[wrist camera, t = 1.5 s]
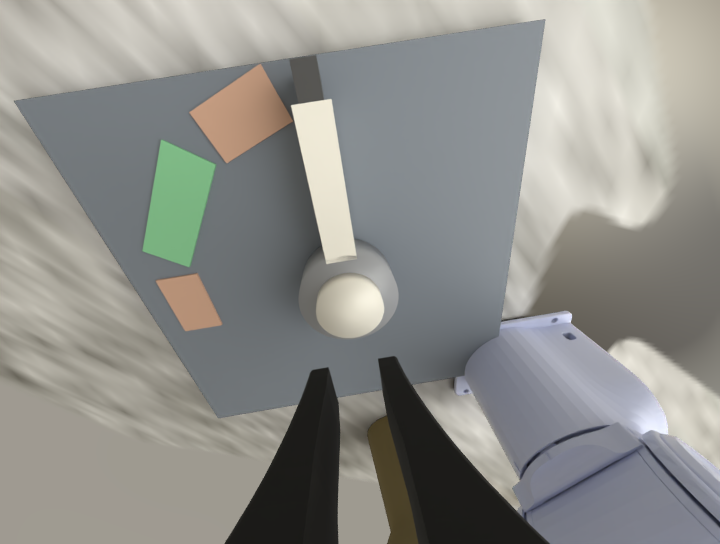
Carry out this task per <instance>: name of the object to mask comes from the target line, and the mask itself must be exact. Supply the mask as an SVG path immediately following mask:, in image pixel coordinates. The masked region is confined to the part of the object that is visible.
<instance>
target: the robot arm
mask: <svg viewBox="0 0 720 544" xmlns="http://www.w3.org/2000/svg"><path fill="white" fill-rule="evenodd" d="M571 319H572V314H571V313H570V312H568V311H562V312H556V313H550V314H544V315H538V316H532V317H526V318H520V319H515V320H509V321H503V322H501V325H500V331H499V336H498V337H496V338H493V339H491V340H490V341H488V342H486V343H485V344H483V345H482V346H481V347H479V348H478V349H477V350H476V351H475V352H474V353H473V354H472V356H471V357H470V358H469V360H468V362H467V364H466V367H465V376H460V377H455V384H454V391H455V393H456V394H457V395H465V394H471V393H473V394H474V396H475V398H476V400H477V402H478V404H479V405H480V407H481V409H482V411H483V413H484V415H485V417H486V418H487V420H488V422H489V424H490V426H491V428H492V430H493V432H494V433H495V435H496V437H497V439H498V441H499V443H500V445H501V446H502V448H503V450H504V452H505V454H506V456H507V458H508V459H509V461H510V463H511V465H512V467H513V469H514V471H515V472H516V474H517V476H518V478H519V480H520V481H519V482H518V483H517V484H516V485H515V486H513V488H512V489H513V491H514V493H515V495H516V497H517V499H518V501H519V503H520V505H521V506H520V507H519V508H518V510H517V511H516V510H515V509H514V508H513V507H512V506H511V505H510V504H509V503H508V502H507V501H506V500H505V499H504V498H503V497H502V496H501V495H500V494H499V492H498V491H497V490H496V489H495V488H494V487H493V486H492V485H491V484H490V483H489V482H488V481H487V480H486V479H485V478H484V477H483V476H482V474H481V473H480V472H479V471H478V470H477V469H476V468H475V467H474V466H473V465H472V463H471V462H470V461H469V460H468V459H467V458H466V456H465V455H464V454H463V453H462V452H461V451H460V450H459V448H458V447H457V446H456V445H455V444H454V442H453V441H452V440H451V439H450V437H449V436H448V435H447V434H446V432H445V431H444V430H443V428H442V427H441V426H440V425H439V423H438V422H437V421H436V419H435V418H434V417H433V415H432V414H431V413H430V411H429V410H428V408H427V407H426V406H425V404H424V403H423V401H422V400H421V398H420V397H419V395H418V394H417V392H416V391H415V389H414V388H413V386H412V385H411V383H410V381H409V380H408V378H407V376H406V375H405V373H404V371H403V369H402V367H401V365H400V363H399V361H398V359H397V357H395V356H391V357H385V358H379V359H378V363H379V370H380V376H381V383H382V390H383V396H384V402H385V407H386V413H387V418H388V423H389V427H390V431H391V434H392V438H393V442H394V445H395V449H396V453H397V456H398V460H399V463H400V467H401V471H402V474H403V478H404V482H405V485H406V489H407V493H408V497H409V501H410V505H411V509H412V514H413V519H414V524H415V529H416V534H417V539H418V544H720V470H719V469H718V468H717V467H716V466H714V465H713V464H712V463H711V462H709V461H708V460H707V459H706V458H704V457H703V456H702V455H701V454H699V453H698V452H697V451H696V450H694V449H693V448H692V447H690V446H689V445H688V444H686V443H685V442H683V441H682V440H680V439H679V438H677V437H675V436H671V435H668V424H667V419H666V416H665V414H664V411H663V409H662V407H661V406H660V404H659V402H658V401H657V399H656V398H655V396H654V395H653V393H652V392H651V391H650V390H649V388H648V387H647V386H646V385H645V384H644V383H643V382H642V381H641V380H640V379H639V378H638V377H637V376H636V375H635V374H633V373H632V372H631V371H630V370H628V369H627V368H626V367H625V366H623V365H622V364H621V363H620V362H618V361H617V360H616V359H615V358H614V357H612V356H611V355H610V354H609V353H607V352H606V351H605V350H603V349H602V348H601V347H600V346H599V345H597V344H596V343H595V342H593V341H592V340H591V339H590V338H589V337H587V336H586V335H585V334H584V333H582V332H581V331H580V330H578V329H577V328H576V327H575V326H574V325H572V324H571V323H570V322H571ZM339 451H340V421H339V405H338V399H337V396H336V392H335V389H334V385H333V381H332V378H331V374H330V371H329V367H326V368H321V369H315V370H312V371H311V372H310V374H309V377H308V381H307V383H306V386H305V389H304V392H303V394H302V397H301V399H300V402H299V405H298V407H297V409H296V412H295V414H294V416H293V419H292V421H291V423H290V426H289V428H288V430H287V432H286V434H285V437H284V439H283V441H282V443H281V445H280V447H279V449H278V451H277V453H276V455H275V457H274V459H273V461H272V463H271V465H270V467H269V469H268V471H267V473H266V474H265V476H264V478H263V480H262V482H261V484H260V485H259V487H258V489H257V491H256V492H255V494H254V496H253V498H252V499H251V501H250V503H249V505H248V506H247V508H246V510H245V511H244V513H243V514H242V516H241V518H240V519H239V521H238V523H237V524H236V526H235V528H234V529H233V531H232V533H231V534H230V536H229V537H228V539H227V540H226V542H225V544H338V517H337V516H338V515H337V514H338V480H339Z"/></svg>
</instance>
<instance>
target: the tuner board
mask: <svg viewBox="0 0 720 544" xmlns="http://www.w3.org/2000/svg"><path fill="white" fill-rule="evenodd" d="M544 26H545V19H543V20H537V21H530V22H524V23H517V24H511V25H504V26H498V27H491V28H485V29H478V30H472V31H465V32H459V33H452V34H446V35H439V36H433V37H426V38H420V39H413V40H407V41H400V42H394V43H387V44H380V45H374V46H367V47H361V48H354V49H348V50H341V51H335V52H328V53H322V54H315V55H316V57H317V61H318V66H319V71H320V77H321V83H322V88H323V94H324V100H327V99H332V105H333V112H334V118H335V124H336V130H337V137H338V143H339V149H340V155H341V162H342V168H343V174H344V180H345V187H346V193H347V199H348V205H349V212H350V218H351V224H352V230H353V237H354V239H358V240H362V241H365V242H367V243H370V244H371V245H373V246H374V247H376V248H377V249H378V250H379V251H380V252H381V253H382V254H383V255H384V257H385V258H386V260H387V262H388V265H389V267H390V269H391V272H392V274H393V276H394V279H395V281H396V284H397V287H398V293H399V299H398V305H397V308H396V310H395V313H394V314H393V316H392V318H391V319H390V320H389V321H388V323H387V324H386V325H384V326H383V327H382V328H381V329H379V330H378V331H376V332H375V333H373V334H370V335H368V336H365V337H362V338H357V339H346V340H344V339H336V338H331V337H328V336H325V335H323V334H321V333H319V332H317V331H316V330H315V329H313V328H312V327H311V326H310V325H309V324H308V323H307V322H306V320H305V319H304V317H303V316H302V314H301V311H300V308H299V300H298V298H299V290H300V286H301V281H302V276H303V272H304V268H305V265H306V263H307V261H308V259H309V257H310V256H311V255H312V254H313V252H314V251H316V250H317V249H318V248H319V247H321V246H322V242H321V238H320V233H319V229H318V224H317V220H316V215H315V211H314V206H313V202H312V197H311V193H310V188H309V184H308V179H307V175H306V170H305V166H304V162H303V157H302V153H301V148H300V144H299V139H298V135H297V130H296V126H295V121H294V117H293V112H292V108H291V105H295V104H298V99H297V94H296V90H295V85H294V80H293V76H292V71H291V66H290V61H289V59H293V58H289V59H283V60H276V61H270V62H263V63H257V64H250V65H244V66H237V67H231V68H224V69H218V70H211V71H205V72H198V73H192V74H185V75H179V76H172V77H166V78H159V79H153V80H146V81H140V82H133V83H127V84H120V85H114V86H107V87H101V88H94V89H88V90H81V91H75V92H68V93H62V94H55V95H49V96H42V97H35V98H29V99H22V100H16V101H14V102H15V104H16V105H17V107H18V108H19V110H20V111H21V113H22V115H23V116H24V118H25V119H26V121H27V122H28V124H29V125H30V127H31V129H32V130H33V132H34V133H35V135H36V136H37V138H38V139H39V141H40V142H41V144H42V146H43V147H44V149H45V150H46V152H47V153H48V155H49V156H50V158H51V160H52V161H53V163H54V164H55V166H56V167H57V169H58V170H59V172H60V174H61V175H62V177H63V178H64V180H65V181H66V183H67V184H68V186H69V187H70V189H71V191H72V192H73V194H74V195H75V197H76V198H77V200H78V201H79V203H80V205H81V206H82V208H83V209H84V211H85V212H86V214H87V215H88V217H89V219H90V220H91V222H92V223H93V225H94V226H95V228H96V229H97V231H98V232H99V234H100V236H101V237H102V239H103V240H104V242H105V243H106V245H107V246H108V248H109V250H110V251H111V253H112V254H113V256H114V257H115V259H116V260H117V262H118V264H119V265H120V267H121V268H122V270H123V271H124V273H125V274H126V276H127V277H128V279H129V281H130V282H131V284H132V285H133V287H134V288H135V290H136V291H137V293H138V295H139V296H140V298H141V299H142V301H143V302H144V304H145V305H146V307H147V309H148V310H149V312H150V313H151V315H152V316H153V318H154V319H155V321H156V322H157V324H158V326H159V327H160V329H161V330H162V332H163V333H164V335H165V336H166V338H167V340H168V341H169V343H170V344H171V346H172V347H173V349H174V350H175V352H176V354H177V355H178V357H179V358H180V360H181V361H182V363H183V364H184V366H185V367H186V369H187V371H188V372H189V374H190V375H191V377H192V378H193V380H194V381H195V383H196V385H197V386H198V388H199V389H200V391H201V392H202V394H203V395H204V397H205V399H206V400H207V402H208V403H209V405H210V406H211V408H212V409H213V411H214V412H215V414H216V416H217V417H218V418H223V417H229V416H234V415H240V414H246V413H252V412H257V411H263V410H269V409H275V408H281V407H286V406H292V405H298V404H299V402H300V399H301V397H302V394H303V392H304V389H305V386H306V383H307V381H308V377H309V374H310V372H311V371H312V370H315V369H321V368H326V367H329V371H330V374H331V378H332V381H333V385H334V389H335V392H336V396H337V398H338V397H344V396H350V395H356V394H361V393H367V392H373V391H379V390H382V383H381V376H380V370H379V363H378V359H379V358H385V357H391V356H395V357H397V359H398V361H399V363H400V365H401V367H402V369H403V371H404V373H405V375H406V376H407V378H408V380H409V381H410V383H411V385H413V384H419V383H425V382H431V381H436V380H442V379H448V378H454V377H460V376H465V367H466V364H467V362H468V360H469V358H470V357H471V356H472V354H473V353H474V352H475V351H476V350H477V349H478V348H479V347H481V346H482V345H483V344H485V343H486V342H488V341H490V340H491V339H493V338H496V337H498V336H499V331H500V325H501V318H502V311H503V304H504V297H505V291H506V284H507V277H508V270H509V263H510V257H511V250H512V243H513V236H514V229H515V223H516V216H517V209H518V202H519V196H520V189H521V182H522V175H523V168H524V162H525V155H526V148H527V141H528V134H529V128H530V121H531V114H532V107H533V100H534V94H535V87H536V80H537V73H538V66H539V60H540V53H541V46H542V39H543V32H544ZM309 56H312V55H309ZM302 57H306V56H302ZM296 58H299V57H296Z"/></svg>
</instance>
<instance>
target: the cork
mask: <svg viewBox="0 0 720 544" xmlns="http://www.w3.org/2000/svg"><path fill="white" fill-rule="evenodd" d="M367 437H368V441H369V445H370V449H371V453H372V457H373V461H374V465H375V469H376V473H377V477H378V481H379V485H380V489H381V494H382V498H383V501H384V506H385V510H386V514H387V518H388V522H389V526H390V530H391V533H390V536H389V539H388V543H387V544H418V539H417V534H416V529H415V524H414V519H413V514H412V509H411V505H410V501H409V497H408V493H407V489H406V485H405V482H404V478H403V474H402V471H401V467H400V463H399V460H398V456H397V453H396V449H395V445H394V442H393V438H392V434H391V431H390V427H389V423H388V418H387V416H385V417H383V418H381V419H379V420H377V421H376V422H375V423H373V424H372V425H371V427H370V428H369V430H368V434H367Z"/></svg>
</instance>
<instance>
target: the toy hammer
mask: <svg viewBox="0 0 720 544" xmlns="http://www.w3.org/2000/svg"><path fill="white" fill-rule="evenodd" d="M289 61H290V66H291V71H292V76H293V80H294V85H295V90H296V94H297V99H298V104H295V105H291V108H292V112H293V117H294V121H295V126H296V130H297V135H298V139H299V144H300V148H301V153H302V157H303V162H304V166H305V170H306V175H307V179H308V184H309V188H310V193H311V197H312V202H313V206H314V211H315V215H316V220H317V224H318V229H319V233H320V238H321V242H322V246H321V247H319V248H318V249H317V250H316V251H314V252H313V254H312V255H311V256H310V257H309V259H308V261H307V263H306V265H305V268H304V272H303V276H302V281H301V286H300V290H299V298H298V300H299V308H300V311H301V314H302V316H303V317H304V319H305V320H306V322H307V323H308V324H309V325H310V326H311V327H312V328H313V329H315V330H316V331H317V332H319V333H321V334H323V335H325V336H328V337H331V338H336V339H344V340H346V339H357V338H362V337H365V336H368V335H370V334H373V333H375V332H376V331H378V330H379V329H381V328H382V327H383V326H384V325H386V324H387V323H388V321H389V320H390V319H391V318H392V316H393V314H394V313H395V310H396V308H397V305H398V299H399V293H398V287H397V284H396V281H395V279H394V276H393V274H392V272H391V269H390V267H389V265H388V262H387V260H386V258H385V257H384V255H383V254H382V253H381V252H380V251H379V250H378V249H377V248H376V247H374V246H373V245H371V244H370V243H367V242H365V241H362V240H358V239H354V237H353V230H352V224H351V218H350V212H349V205H348V199H347V193H346V187H345V180H344V174H343V168H342V162H341V155H340V149H339V143H338V137H337V130H336V124H335V118H334V112H333V105H332V99H327V100H324V94H323V88H322V83H321V77H320V71H319V66H318V61H317V57H316V55H312V56H306V57H299V58H293V59H289Z"/></svg>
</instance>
